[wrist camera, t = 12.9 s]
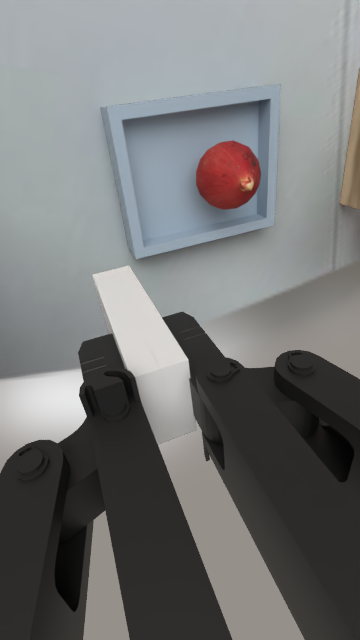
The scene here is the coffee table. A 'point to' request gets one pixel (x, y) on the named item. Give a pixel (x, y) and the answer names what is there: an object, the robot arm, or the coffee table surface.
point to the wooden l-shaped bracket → (353, 159)
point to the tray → (189, 165)
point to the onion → (228, 175)
